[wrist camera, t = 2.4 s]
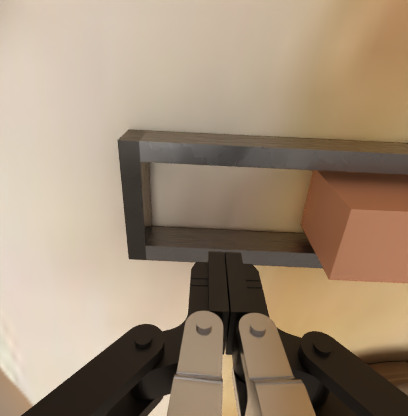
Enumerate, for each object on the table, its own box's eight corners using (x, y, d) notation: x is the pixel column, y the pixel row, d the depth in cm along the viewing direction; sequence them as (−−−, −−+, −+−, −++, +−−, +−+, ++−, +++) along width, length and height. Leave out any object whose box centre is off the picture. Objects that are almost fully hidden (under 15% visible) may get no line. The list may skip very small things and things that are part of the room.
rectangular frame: (493, 147, 19) (531, 160, 17) (438, 252, 23) (463, 274, 20) (128, 129, 19) (117, 140, 16) (136, 238, 23) (128, 259, 20)
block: (432, 172, 20) (513, 216, 15) (407, 229, 22) (470, 286, 17) (313, 166, 20) (351, 209, 14) (300, 224, 22) (329, 279, 17)
